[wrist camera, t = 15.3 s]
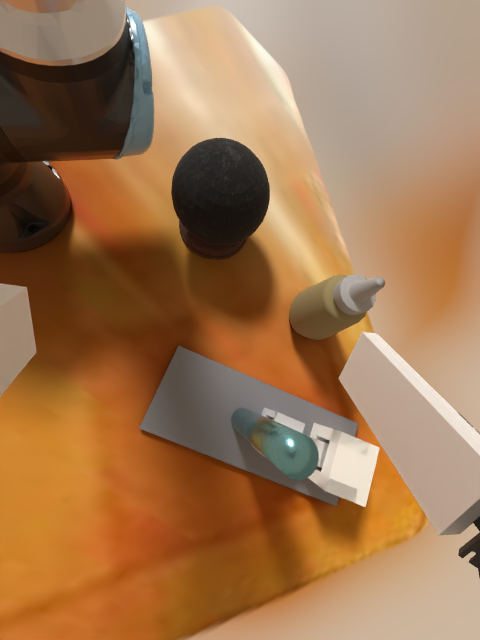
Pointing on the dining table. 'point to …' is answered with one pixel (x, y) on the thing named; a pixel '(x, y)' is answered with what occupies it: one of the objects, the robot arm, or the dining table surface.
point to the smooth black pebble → (219, 197)
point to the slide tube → (281, 444)
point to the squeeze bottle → (333, 305)
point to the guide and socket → (246, 392)
